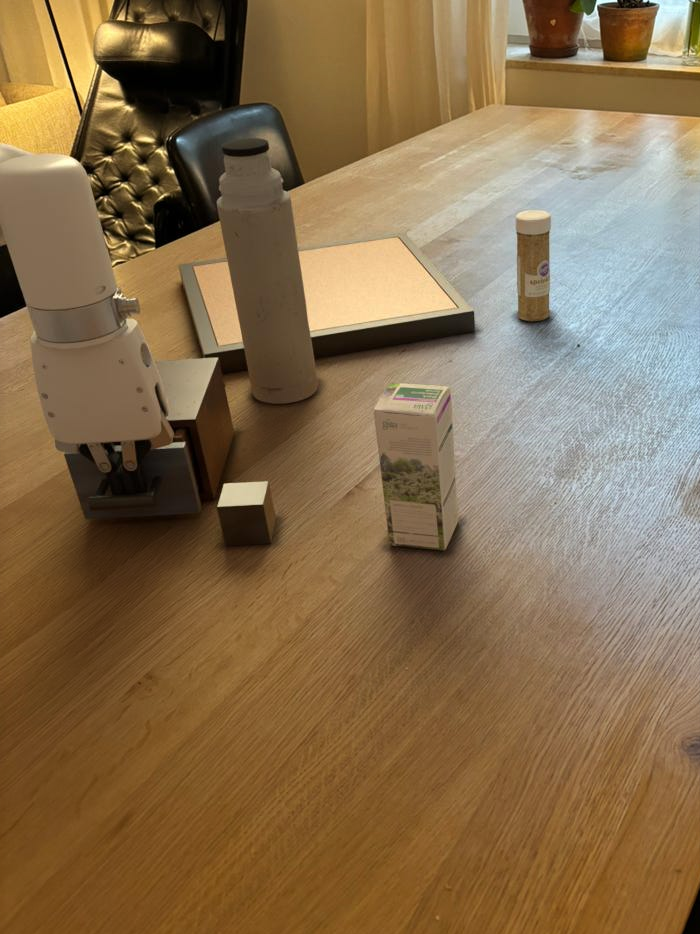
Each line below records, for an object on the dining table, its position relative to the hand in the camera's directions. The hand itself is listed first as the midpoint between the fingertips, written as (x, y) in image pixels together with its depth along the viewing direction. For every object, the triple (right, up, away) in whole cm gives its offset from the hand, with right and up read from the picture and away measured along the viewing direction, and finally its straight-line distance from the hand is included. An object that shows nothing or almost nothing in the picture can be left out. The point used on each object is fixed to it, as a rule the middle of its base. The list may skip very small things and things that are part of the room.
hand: (133, 500), depth 99 cm
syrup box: (+28, -3, 0) cm, 28 cm away
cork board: (+10, +34, +48) cm, 60 cm away
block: (+11, -3, +2) cm, 11 cm away
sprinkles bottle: (+41, +31, +42) cm, 66 cm away
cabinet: (-1, +5, +12) cm, 14 cm away
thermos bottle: (+10, +17, +27) cm, 33 cm away
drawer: (0, +2, +7) cm, 7 cm away
